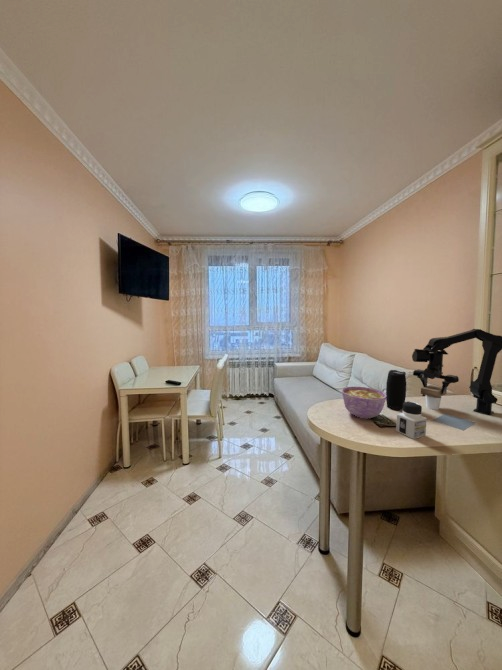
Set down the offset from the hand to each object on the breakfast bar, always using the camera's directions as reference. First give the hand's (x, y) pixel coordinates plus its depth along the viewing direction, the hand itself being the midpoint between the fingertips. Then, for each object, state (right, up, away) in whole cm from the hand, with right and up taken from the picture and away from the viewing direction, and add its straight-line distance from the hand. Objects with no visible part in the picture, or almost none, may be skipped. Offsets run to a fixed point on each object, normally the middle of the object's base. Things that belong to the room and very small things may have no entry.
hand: (433, 391), depth 132 cm
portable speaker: (-19, -9, +1) cm, 21 cm away
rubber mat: (-2, -10, -16) cm, 19 cm away
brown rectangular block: (0, -1, 0) cm, 1 cm away
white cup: (0, -9, +1) cm, 9 cm away
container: (-30, -11, -27) cm, 42 cm away
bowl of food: (-41, -10, -9) cm, 43 cm away
